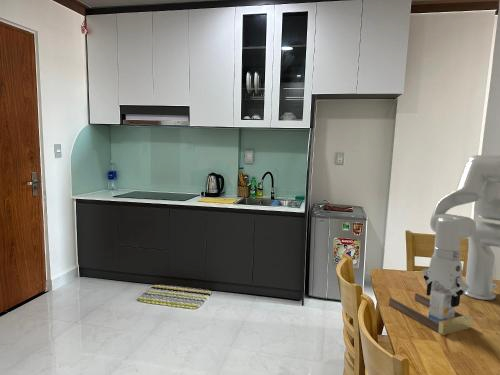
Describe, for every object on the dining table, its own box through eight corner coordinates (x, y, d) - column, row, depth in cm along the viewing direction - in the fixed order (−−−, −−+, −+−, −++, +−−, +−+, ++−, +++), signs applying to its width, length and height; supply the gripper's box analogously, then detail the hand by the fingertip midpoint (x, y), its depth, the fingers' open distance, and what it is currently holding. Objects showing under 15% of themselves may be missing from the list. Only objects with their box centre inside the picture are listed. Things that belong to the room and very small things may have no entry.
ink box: (441, 327, 118) (445, 286, 117) (427, 321, 123) (430, 281, 121) (454, 322, 123) (458, 282, 121) (440, 316, 127) (444, 277, 126)
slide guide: (415, 299, 141) (416, 290, 140) (471, 327, 119) (472, 316, 119) (389, 305, 135) (389, 295, 135) (442, 335, 114) (443, 323, 113)
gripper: (477, 259, 113) (473, 309, 115) (432, 245, 129) (428, 289, 131) (462, 261, 110) (457, 312, 112) (417, 247, 126) (414, 292, 128)
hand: (442, 300), depth 122 cm, fingers open, 9 cm apart
